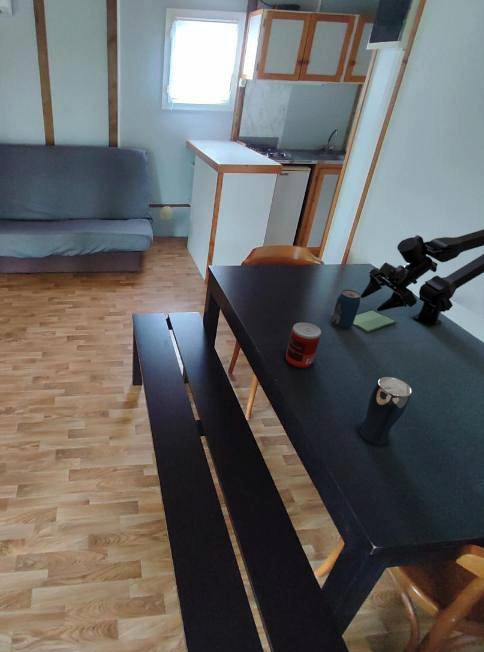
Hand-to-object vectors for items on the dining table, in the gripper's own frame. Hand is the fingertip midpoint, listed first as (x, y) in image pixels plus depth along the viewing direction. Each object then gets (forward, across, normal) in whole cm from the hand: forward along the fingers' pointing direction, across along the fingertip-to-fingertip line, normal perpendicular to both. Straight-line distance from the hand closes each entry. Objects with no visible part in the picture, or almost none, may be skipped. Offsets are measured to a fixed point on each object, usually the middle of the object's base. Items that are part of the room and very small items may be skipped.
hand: (369, 303), depth 135 cm
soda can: (+11, 0, 0) cm, 11 cm away
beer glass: (+24, +48, -13) cm, 56 cm away
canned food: (+28, +18, -16) cm, 37 cm away
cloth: (+3, -2, +8) cm, 9 cm away
